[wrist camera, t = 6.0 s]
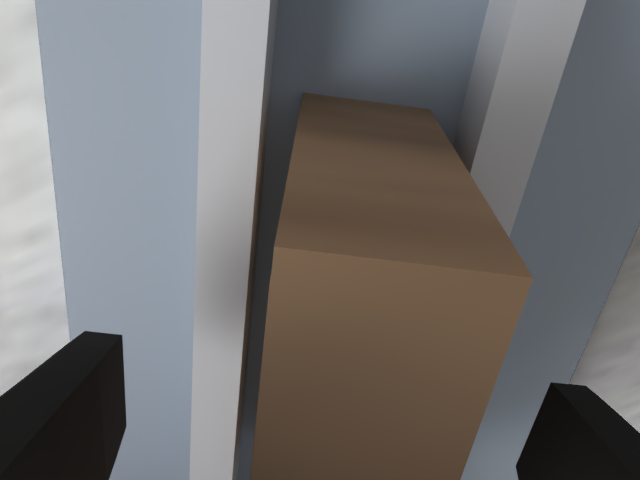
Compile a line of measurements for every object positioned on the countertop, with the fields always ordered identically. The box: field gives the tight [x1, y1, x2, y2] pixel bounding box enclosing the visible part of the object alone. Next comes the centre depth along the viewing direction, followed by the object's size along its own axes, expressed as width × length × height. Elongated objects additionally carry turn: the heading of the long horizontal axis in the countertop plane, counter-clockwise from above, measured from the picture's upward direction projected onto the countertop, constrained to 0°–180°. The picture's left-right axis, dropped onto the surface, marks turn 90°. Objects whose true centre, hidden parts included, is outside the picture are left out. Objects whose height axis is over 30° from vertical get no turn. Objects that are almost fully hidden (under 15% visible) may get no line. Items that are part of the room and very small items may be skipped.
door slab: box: [250, 93, 533, 480], centre depth 10 cm, size 9×2×6 cm, turn 173°
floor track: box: [35, 0, 640, 480], centre depth 12 cm, size 18×12×4 cm, turn 173°
